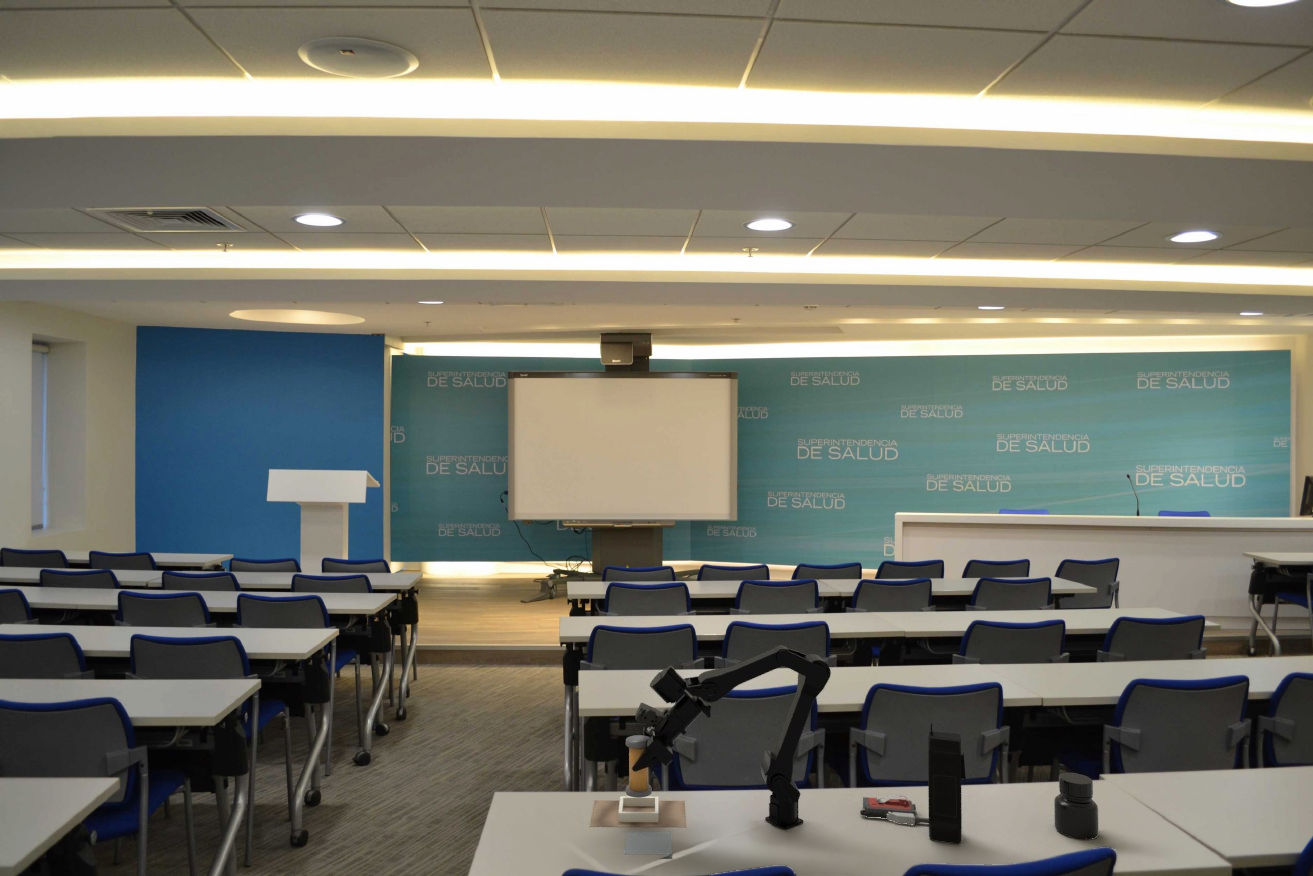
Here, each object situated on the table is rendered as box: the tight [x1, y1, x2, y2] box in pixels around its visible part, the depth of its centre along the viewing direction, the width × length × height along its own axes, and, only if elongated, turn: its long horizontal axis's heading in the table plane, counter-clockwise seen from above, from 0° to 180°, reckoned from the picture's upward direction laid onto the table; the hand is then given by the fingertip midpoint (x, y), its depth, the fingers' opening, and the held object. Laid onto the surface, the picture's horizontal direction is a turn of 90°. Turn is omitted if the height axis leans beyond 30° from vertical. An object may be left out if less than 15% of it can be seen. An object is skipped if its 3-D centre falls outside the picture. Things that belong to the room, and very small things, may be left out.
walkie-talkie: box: [859, 794, 929, 826], centre depth 189 cm, size 9×4×20 cm
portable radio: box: [927, 723, 967, 845], centre depth 179 cm, size 8×6×25 cm
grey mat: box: [624, 831, 673, 860], centre depth 173 cm, size 10×10×1 cm
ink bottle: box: [1053, 772, 1099, 840], centre depth 182 cm, size 10×9×12 cm
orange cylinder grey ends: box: [625, 734, 653, 798], centre depth 185 cm, size 6×6×12 cm
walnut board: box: [589, 799, 687, 828], centre depth 188 cm, size 22×14×1 cm, turn 90°
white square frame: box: [618, 795, 659, 822], centre depth 188 cm, size 9×9×2 cm
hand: (632, 765), depth 185 cm, fingers closed on orange cylinder grey ends, 5 cm apart
